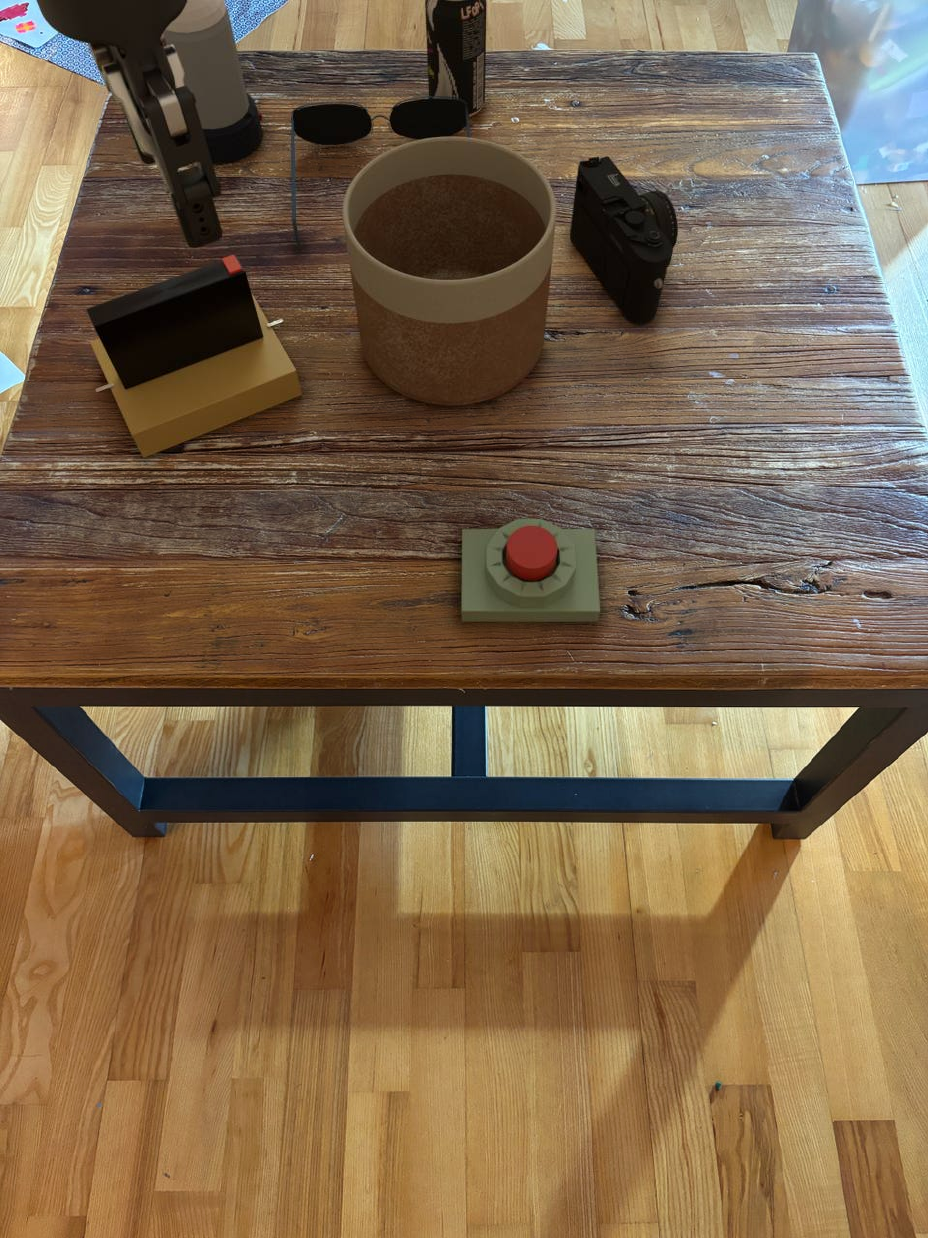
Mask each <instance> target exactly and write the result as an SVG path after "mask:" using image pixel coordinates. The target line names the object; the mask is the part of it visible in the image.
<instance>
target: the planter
mask: <svg viewBox="0 0 928 1238" xmlns="http://www.w3.org/2000/svg"><path fill="white" fill-rule="evenodd" d="M553 190H554V189H553V188H552V186H551V184H550V182H549V180H548V178H547V177H546V176H545V174H544V173H543V172H542V171H541V170H540V169H539V168H538V167H537V166H536V165H535V164H534V163H533V162H531V160H529V159H527V157H525V156H523V155H521V154H520V153H518V152H517V151H515V150H513V149H511V148H509V147H506V146H504V145H501V144H499V143H496V142H492V141H489V140H486V139H485V140H484V139H481V138H474V137H471V138H467V136H466V137H465V136H450V137H435V138H427V139H422V140H418V139H416V140H413V141H410V142H406V143H403V144H400V145H398V146H395V147H393V148H390V149H389V150H387V151H384V152H383V153H381V154H379V155H378V156H376V157H375V158H373V159H372V160H371V161H369V162H368V163H367V164H366V165H365V166H364V167H363V168H361V170H360V171H358V173H357V174H356V175H355V176H354V178H353V179H352V180H351V182H350V183H349V186H348V187H347V190H346V192H345V195H344V198H343V203H342V211H341V212H342V224H343V231H344V237H345V243H346V251H347V257H348V264H349V270H350V272H349V273H350V279H351V284H352V292H353V298H354V306H355V311H356V318H357V319H356V320H357V326H358V332H359V338H360V344H361V345H360V346H361V350H362V353H363V356H364V359H365V361H366V363H367V364H368V366H369V368H370V369H371V370H372V372H373V373H374V375H376V376H377V377H378V378H379V380H381V381H382V382H383V383H384V384H385V385H387V386H388V387H389V388H390V389H392V390H394V391H395V392H397V393H399V394H400V395H402V396H405V397H406V398H409V399H412V400H415V401H418V402H421V403H425V404H429V405H430V404H431V405H437V406H466V405H471V404H472V405H473V404H477V403H482V402H485V401H489V400H492V399H494V398H496V397H498V396H501V395H503V394H505V393H507V392H508V391H510V390H512V389H513V388H515V387H516V386H517V385H519V384H520V383H521V382H522V381H523V380H524V379H525V378H526V377H528V375H529V374H530V373H531V372H532V371H533V369H534V368H535V366H536V365H537V363H538V361H539V360H540V357H541V354H542V352H543V349H544V344H545V335H546V325H547V313H548V305H549V294H550V285H551V275H552V264H553V263H552V262H553V255H554V254H553V253H554V244H555V243H554V242H555V232H556V224H557V202H556V196H555V193H554V191H553Z"/></svg>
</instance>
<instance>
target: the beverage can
mask: <svg viewBox="0 0 928 1238" xmlns="http://www.w3.org/2000/svg"><path fill="white" fill-rule="evenodd" d="M487 6H488V5H487V0H425V1H424V9H425V10H424V11H425V12H424V13H425V34H426V35H425V36H426V62H427V84H428V85H427V86H428V96H447V97H455V98H459V99H461V100H463V101H465V102H466V103H467V104H465V105H466V106H467V107H468V109H469V118H470V117H473V116H475V115H477V113H479V112H481V110H482V109H483V108H484V105H485V103H486V71H487V68H486V67H487V66H486V65H487V58H486V57H487ZM434 98H442V97H431V98H428V99H434ZM442 99H452V98H442ZM453 100H456V99H453ZM458 101H459V100H458Z"/></svg>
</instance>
